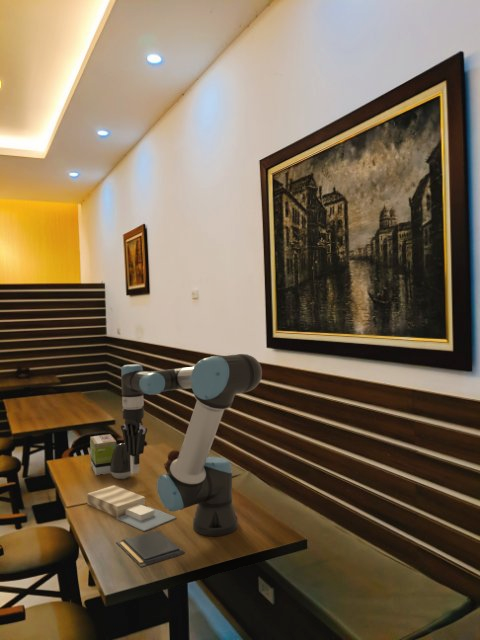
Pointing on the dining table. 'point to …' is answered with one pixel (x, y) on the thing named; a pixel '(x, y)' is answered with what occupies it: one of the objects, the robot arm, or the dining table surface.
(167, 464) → the ice cream bowl
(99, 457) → the tea box
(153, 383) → the robot arm
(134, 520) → the mat
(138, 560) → the dark grey flat slab
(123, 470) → the pump dispenser
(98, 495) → the riser
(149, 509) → the cream rectangular block
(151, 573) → the dining table surface
